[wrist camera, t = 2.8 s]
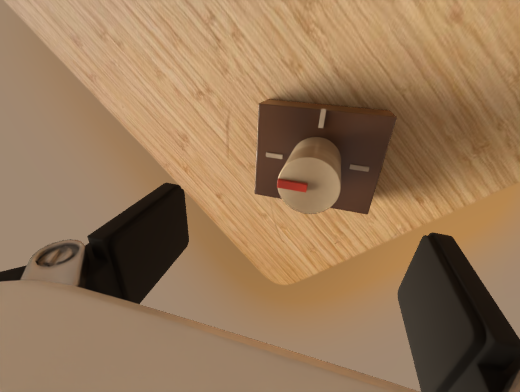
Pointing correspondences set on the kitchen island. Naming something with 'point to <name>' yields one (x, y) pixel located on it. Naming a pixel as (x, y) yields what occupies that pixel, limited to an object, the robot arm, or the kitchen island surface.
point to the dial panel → (333, 129)
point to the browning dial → (311, 176)
